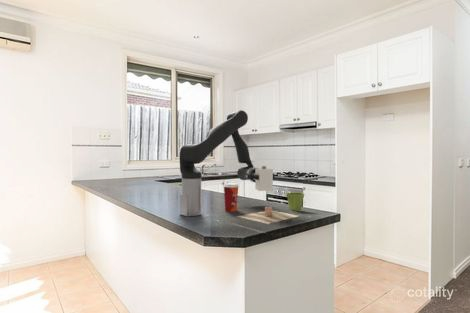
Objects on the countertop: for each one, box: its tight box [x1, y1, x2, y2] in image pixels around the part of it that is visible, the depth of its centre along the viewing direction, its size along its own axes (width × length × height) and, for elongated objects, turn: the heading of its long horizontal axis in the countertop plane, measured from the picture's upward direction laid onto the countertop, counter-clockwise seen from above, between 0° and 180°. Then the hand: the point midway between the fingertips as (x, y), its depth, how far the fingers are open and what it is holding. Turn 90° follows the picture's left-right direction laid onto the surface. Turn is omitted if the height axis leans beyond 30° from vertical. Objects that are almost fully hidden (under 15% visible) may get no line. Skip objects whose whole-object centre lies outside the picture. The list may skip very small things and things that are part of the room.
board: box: [236, 210, 299, 225], centre depth 128 cm, size 22×18×1 cm
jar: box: [264, 206, 273, 217], centre depth 128 cm, size 3×3×4 cm
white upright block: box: [254, 165, 274, 192], centre depth 134 cm, size 6×6×11 cm
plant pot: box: [285, 192, 305, 212], centre depth 145 cm, size 9×9×9 cm
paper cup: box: [223, 182, 240, 213], centre depth 141 cm, size 8×8×14 cm
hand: (265, 177), depth 132 cm, fingers closed on white upright block, 6 cm apart
